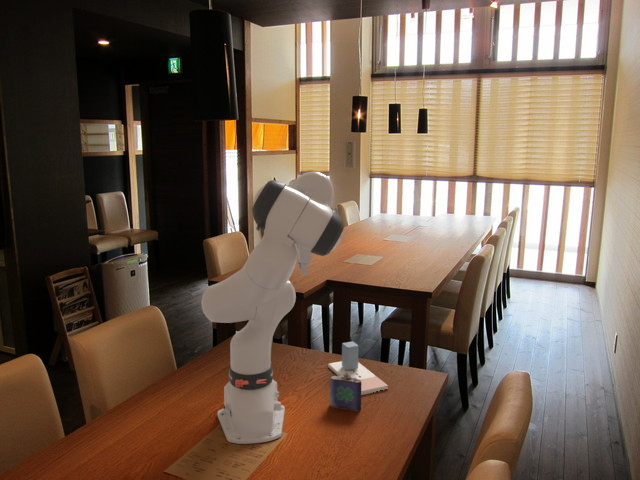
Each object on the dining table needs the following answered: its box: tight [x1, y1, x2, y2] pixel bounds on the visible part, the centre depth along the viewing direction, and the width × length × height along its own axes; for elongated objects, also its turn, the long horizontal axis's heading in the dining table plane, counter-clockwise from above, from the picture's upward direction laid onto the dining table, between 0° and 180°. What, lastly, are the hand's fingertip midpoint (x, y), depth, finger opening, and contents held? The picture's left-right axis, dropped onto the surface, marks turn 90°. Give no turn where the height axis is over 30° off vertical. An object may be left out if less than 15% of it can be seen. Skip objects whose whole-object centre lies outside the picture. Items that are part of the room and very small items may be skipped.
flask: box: [329, 372, 362, 412], centre depth 154 cm, size 9×3×11 cm, turn 73°
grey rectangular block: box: [341, 341, 360, 370], centre depth 177 cm, size 4×4×8 cm
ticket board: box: [327, 360, 389, 396], centre depth 173 cm, size 22×10×1 cm, turn 25°
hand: (302, 271), depth 174 cm, fingers open, 8 cm apart
